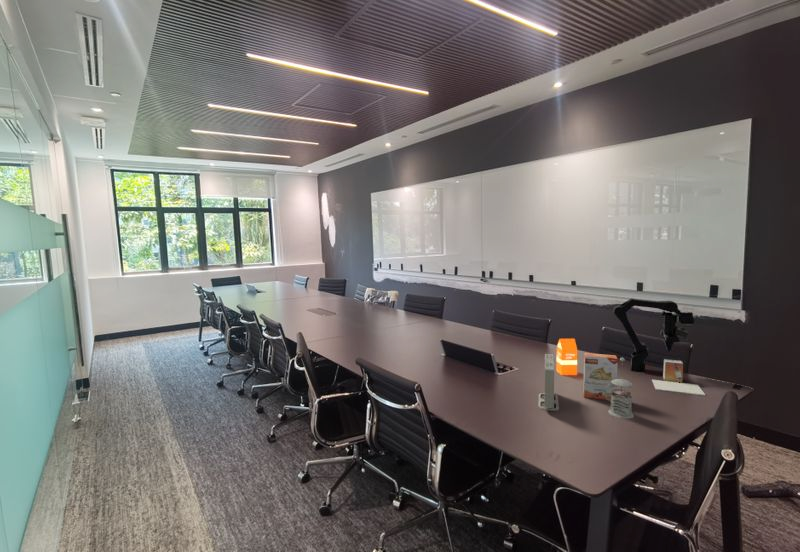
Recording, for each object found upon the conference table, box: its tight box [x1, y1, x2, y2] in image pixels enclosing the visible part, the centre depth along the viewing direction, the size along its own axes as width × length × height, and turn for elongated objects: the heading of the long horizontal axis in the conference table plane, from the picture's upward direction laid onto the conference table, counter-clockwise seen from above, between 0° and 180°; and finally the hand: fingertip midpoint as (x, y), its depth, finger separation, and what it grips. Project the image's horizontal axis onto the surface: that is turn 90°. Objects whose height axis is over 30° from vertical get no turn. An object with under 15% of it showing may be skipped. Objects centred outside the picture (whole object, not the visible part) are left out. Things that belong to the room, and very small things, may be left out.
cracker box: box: [582, 352, 619, 401], centre depth 187 cm, size 14×6×21 cm, turn 68°
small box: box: [662, 358, 684, 383], centre depth 208 cm, size 8×6×10 cm
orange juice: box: [555, 338, 578, 376], centre depth 223 cm, size 8×9×20 cm
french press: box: [604, 357, 635, 420], centre depth 170 cm, size 10×12×25 cm
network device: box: [537, 353, 560, 411], centre depth 183 cm, size 26×9×20 cm, turn 160°
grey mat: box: [651, 379, 706, 397], centre depth 198 cm, size 20×14×1 cm
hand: (669, 350), depth 218 cm, fingers closed
